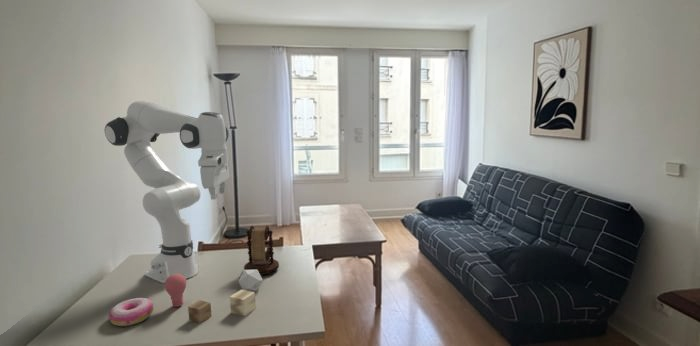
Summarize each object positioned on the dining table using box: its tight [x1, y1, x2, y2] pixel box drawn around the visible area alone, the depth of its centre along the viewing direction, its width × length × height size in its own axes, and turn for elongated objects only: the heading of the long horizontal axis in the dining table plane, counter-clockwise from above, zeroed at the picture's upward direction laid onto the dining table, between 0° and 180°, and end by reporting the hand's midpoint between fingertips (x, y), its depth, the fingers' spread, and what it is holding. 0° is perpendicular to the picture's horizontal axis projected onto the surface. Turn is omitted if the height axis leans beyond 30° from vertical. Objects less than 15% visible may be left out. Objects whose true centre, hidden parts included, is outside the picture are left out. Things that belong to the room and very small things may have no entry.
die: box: [238, 269, 263, 292], centre depth 156 cm, size 8×9×10 cm
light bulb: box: [164, 274, 187, 308], centre depth 144 cm, size 7×7×12 cm
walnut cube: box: [187, 299, 212, 324], centre depth 136 cm, size 5×5×5 cm
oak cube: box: [229, 288, 257, 317], centre depth 140 cm, size 6×6×6 cm
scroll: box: [243, 225, 280, 276], centre depth 174 cm, size 15×15×20 cm
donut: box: [108, 297, 154, 327], centre depth 137 cm, size 14×13×5 cm
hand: (218, 196), depth 146 cm, fingers open, 8 cm apart
